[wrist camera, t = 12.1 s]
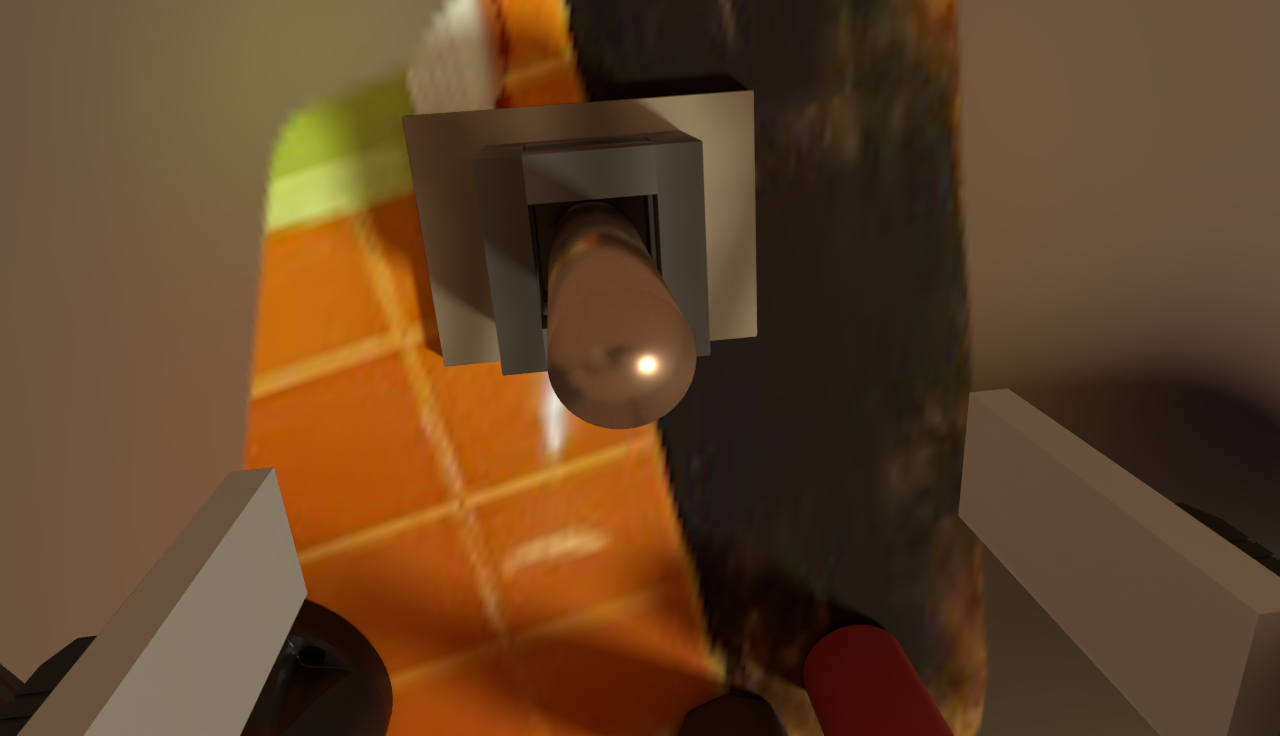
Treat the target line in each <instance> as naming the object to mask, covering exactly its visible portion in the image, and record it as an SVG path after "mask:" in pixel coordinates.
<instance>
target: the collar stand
mask: <svg viewBox="0 0 1280 736" xmlns="http://www.w3.org/2000/svg"><path fill="white" fill-rule="evenodd" d="M402 120H403V126H404V131H405V137H406V143H407V149H408V155H409V161H410V167H411V173H412V178H413V184H414V190H415V196H416V202H417V208H418V214H419V220H420V225H421V231H422V237H423V243H424V249H425V255H426V261H427V267H428V272H429V278H430V284H431V290H432V296H433V302H434V308H435V313H436V319H437V325H438V331H439V337H440V343H441V349H442V355H443V360H444V366H445V367H446V366H456V365H466V364H477V363H487V362H497V361H501V366H502V373H503V375H513V374H523V373H533V372H544V371H548V370H547V319H548V264H549V257H548V236H549V228H550V223H551V220H552V217H553V215H554V213H555V212H556V210H557V209H558V207H559V206H560V205H561V204H562V203H563V202H567V201H579V200H591V199H603V198H612V199H614V200H615V201H616V202H618V203H619V204H620V205H621V206H622V207H623V209H624V210H625V212H626V213H627V215H628V216H629V217H630V218H631V220H632V222H633V223H634V225H635V227H636V229H637V231H638V234H639V237H640V238H641V240H642V242H643V244H644V246H645V247H646V249H647V251H648V253H649V255H650V256H651V258H652V260H653V262H654V264H655V266H656V267H657V269H658V271H659V273H660V275H661V276H662V278H663V280H664V282H665V284H666V285H667V287H668V289H669V291H670V293H671V294H672V296H673V298H674V300H675V302H676V303H677V305H678V307H679V309H680V311H681V313H682V314H683V316H684V318H685V320H686V322H687V323H688V325H689V327H690V329H691V332H692V334H693V337H694V341H695V346H696V356H705V355H710V341H712V340H723V339H733V338H743V337H753V336H757V303H756V231H755V160H754V91H753V90H742V91H729V92H716V93H703V94H689V95H676V96H663V97H650V98H637V99H623V100H610V101H597V102H584V103H570V104H557V105H544V106H531V107H518V108H504V109H491V110H478V111H465V112H451V113H438V114H425V115H412V116H404V117H402Z"/></svg>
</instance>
